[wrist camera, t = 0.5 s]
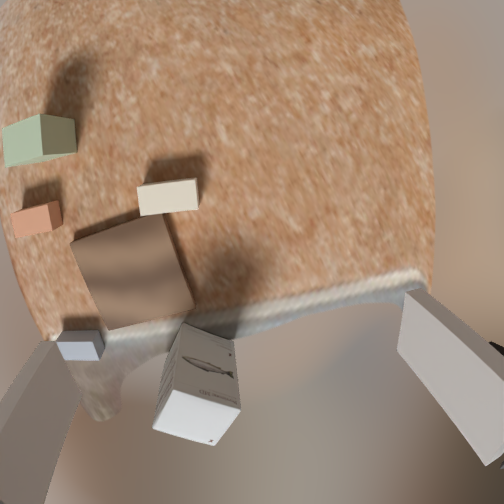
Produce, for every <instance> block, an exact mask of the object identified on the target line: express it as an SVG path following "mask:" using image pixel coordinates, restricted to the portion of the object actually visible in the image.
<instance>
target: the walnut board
mask: <svg viewBox="0 0 504 504" xmlns="http://www.w3.org/2000/svg"><path fill="white" fill-rule="evenodd" d="M70 246H71V249H72V252H73V254H74V257H75V259H76V261H77V264H78V266H79V269H80V271H81V273H82V276H83V278H84V280H85V282H86V285H87V287H88V289H89V291H90V293H91V296H92V298H93V300H94V302H95V304H96V306H97V308H98V310H99V312H100V314H101V316H102V318H103V320H104V322H105V324H106V326H107V328H108V330H113V329H117V328H122V327H126V326H130V325H134V324H138V323H142V322H146V321H150V320H154V319H158V318H162V317H166V316H169V315H173V314H177V313H181V312H185V311H189V310H192V309H196V302H195V300H194V297H193V294H192V292H191V289H190V286H189V284H188V281H187V278H186V275H185V273H184V270H183V267H182V264H181V262H180V259H179V256H178V253H177V250H176V247H175V245H174V242H173V239H172V236H171V233H170V230H169V227H168V224H167V221H166V218H165V215H164V213H161V214H153V215H145V216H141V217H138V218H135V219H132V220H129V221H127V222H124V223H121V224H118V225H115V226H112V227H109V228H107V229H104V230H101V231H98V232H96V233H93V234H90V235H87V236H85V237H82V238H79V239H77V240H74V241H72V242H71V243H70Z"/></svg>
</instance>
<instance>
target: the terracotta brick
mask: <svg viewBox="0 0 504 504" xmlns="http://www.w3.org/2000/svg"><path fill="white" fill-rule="evenodd" d="M10 215H11V220H12V224H13V229H14V233H15V237H16V238H19V237H23V236H28V235H33V234H38V233H43V232H48V231H53V230H54V229H56V228H58V227H60V226H61V225H63V222H62V217H61V212H60V207H59V201H58V200H57V201H52V202H48V203H44V204H40V205H36V206H32V207H28V208H24V209H21V210H19V211H16V212H14V213H11V214H10Z"/></svg>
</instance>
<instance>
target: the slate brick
mask: <svg viewBox="0 0 504 504" xmlns="http://www.w3.org/2000/svg"><path fill="white" fill-rule="evenodd" d="M56 343H57V345H58V347H59V350H60V352H61V354H62V356H63V358H64V360H100V358H101V356H102V354H103V352H104V350H105V347H104V344H103V341H102V338H101V335H100V332H99V330H85V331H62V333H61V334H60V336H59V337H58V338H57V340H56Z"/></svg>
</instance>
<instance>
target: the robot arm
mask: <svg viewBox="0 0 504 504" xmlns="http://www.w3.org/2000/svg"><path fill="white" fill-rule="evenodd" d="M397 351H398V353H399V354H400V355H401V356H402V357H403V359H404V360H405V361H406V362H407V364H408V365H409V366H410V367H411V369H412V370H413V371H414V372H415V374H416V375H417V376H418V377H419V378H420V380H421V381H422V382H423V383H424V385H425V386H426V387H427V389H428V390H429V391H430V392H431V394H432V395H433V396H434V397H435V399H436V400H437V401H438V403H439V404H440V405H441V406H442V408H443V409H444V410H445V412H446V413H447V414H448V416H449V417H450V418H451V420H452V421H453V422H454V424H455V425H456V426H457V428H458V429H459V430H460V432H461V433H462V434H463V436H464V437H465V438H466V440H467V441H468V442H469V444H470V445H471V446H472V448H473V449H474V451H475V452H476V453H477V455H478V456H479V458H480V459H481V460H482V462H483V463H484V465H485V466H487V465H488V464H490V463H491V462H493V461H494V460H495V459H497V458H498V457H500V456H501V455H502V454H503V453H504V347H502V346H500V345H498V344H496V343H494V342H489V343H488V342H487V341H486V340H484V339H483V338H482V337H481V336H480V335H479V334H477V333H476V332H475V331H474V330H473V329H471V328H470V327H469V326H468V325H467V324H465V323H464V322H463V321H462V320H461V319H459V318H458V317H457V316H456V315H455V314H453V313H452V312H451V311H450V310H448V309H447V308H446V307H445V306H443V305H442V304H441V303H440V302H438V301H437V300H436V299H435V298H433V297H432V296H431V295H430V294H428V293H427V292H426V291H424V290H423V289H422V288H419V289H415V290H411V291H407V292H405V300H404V308H403V315H402V322H401V328H400V335H399V341H398V346H397ZM81 397H82V393H81V391H80V389H79V387H78V385H77V384H76V382H75V380H74V378H73V376H72V374H71V372H70V370H69V368H68V366H67V364H66V362H65V360H64V358H63V356H62V354H61V352H60V350H59V347H58V345H57V343H56V341H41V342H40V343H39V345H38V346H37V348H36V349H35V350H34V352H33V353H32V355H31V356H30V357H29V359H28V360H27V362H26V363H25V365H24V366H23V368H22V369H21V371H20V372H19V374H18V375H17V377H16V378H15V380H14V381H13V383H12V384H11V386H10V387H9V389H8V391H7V392H6V394H5V395H4V397H3V399H2V400H1V402H0V504H44V502H45V499H46V495H47V492H48V489H49V485H50V482H51V479H52V476H53V473H54V469H55V466H56V464H57V460H58V458H59V455H60V452H61V449H62V446H63V443H64V441H65V438H66V435H67V433H68V430H69V427H70V425H71V422H72V419H73V417H74V414H75V412H76V409H77V407H78V404H79V402H80V399H81ZM503 468H504V461H503V462H502V464H501V467H500V469H503Z"/></svg>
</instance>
